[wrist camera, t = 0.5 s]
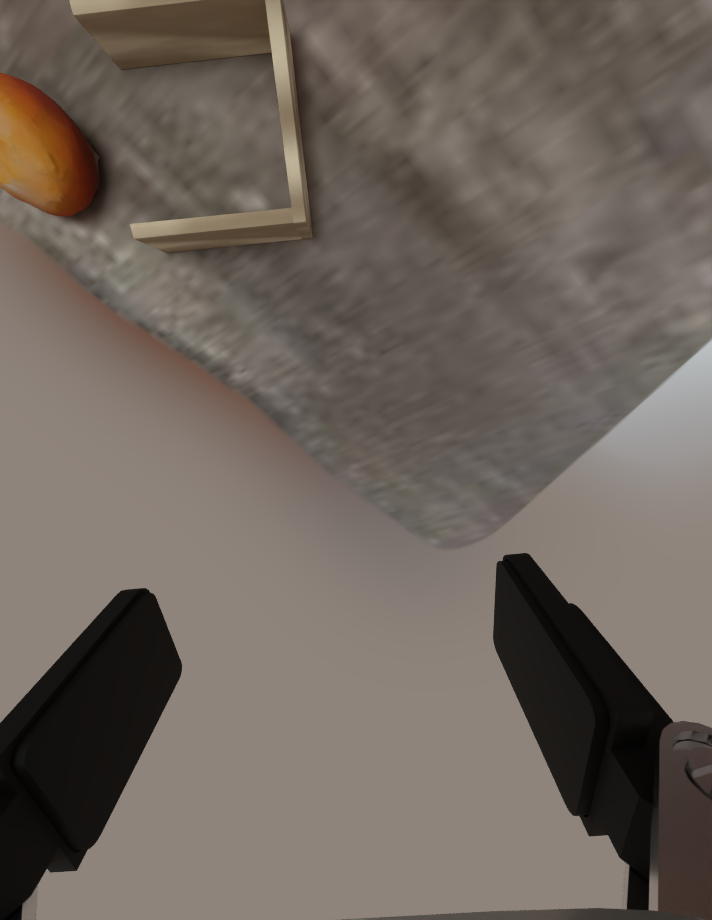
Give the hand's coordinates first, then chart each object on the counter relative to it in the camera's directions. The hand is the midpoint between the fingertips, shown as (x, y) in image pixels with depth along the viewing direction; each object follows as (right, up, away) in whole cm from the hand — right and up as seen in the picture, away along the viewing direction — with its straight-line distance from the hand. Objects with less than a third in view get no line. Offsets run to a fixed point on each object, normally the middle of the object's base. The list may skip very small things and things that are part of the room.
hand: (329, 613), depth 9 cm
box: (-11, +31, +20) cm, 39 cm away
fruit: (-25, +30, +21) cm, 44 cm away
